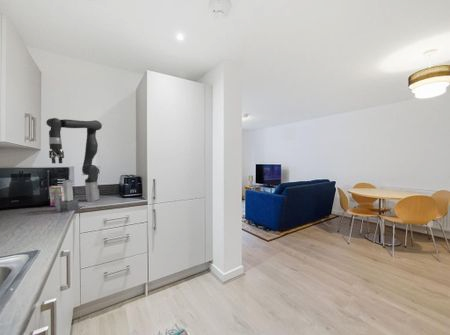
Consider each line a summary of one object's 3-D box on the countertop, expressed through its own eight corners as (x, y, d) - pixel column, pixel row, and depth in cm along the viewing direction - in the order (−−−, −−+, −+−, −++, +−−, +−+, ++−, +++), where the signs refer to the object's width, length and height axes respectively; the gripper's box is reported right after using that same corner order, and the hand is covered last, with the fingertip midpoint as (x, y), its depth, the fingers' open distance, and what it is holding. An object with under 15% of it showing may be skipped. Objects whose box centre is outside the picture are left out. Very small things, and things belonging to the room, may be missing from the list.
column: (70, 199, 155) (69, 179, 154) (74, 199, 154) (72, 180, 153) (63, 201, 151) (61, 180, 149) (67, 201, 149) (65, 181, 148)
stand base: (73, 206, 162) (72, 198, 161) (84, 207, 157) (84, 199, 157) (53, 211, 149) (52, 202, 148) (65, 212, 144) (64, 203, 143)
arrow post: (62, 210, 149) (60, 190, 148) (64, 211, 148) (62, 190, 147) (55, 212, 145) (53, 191, 144) (57, 212, 144) (55, 191, 143)
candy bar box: (49, 206, 163) (48, 187, 162) (55, 204, 168) (54, 185, 167) (62, 206, 162) (60, 187, 161) (67, 204, 167) (66, 186, 166)
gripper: (66, 143, 158) (68, 163, 159) (55, 143, 163) (56, 163, 164) (55, 142, 151) (57, 163, 152) (44, 143, 156) (46, 163, 157)
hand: (57, 163), depth 158 cm, fingers open, 8 cm apart
